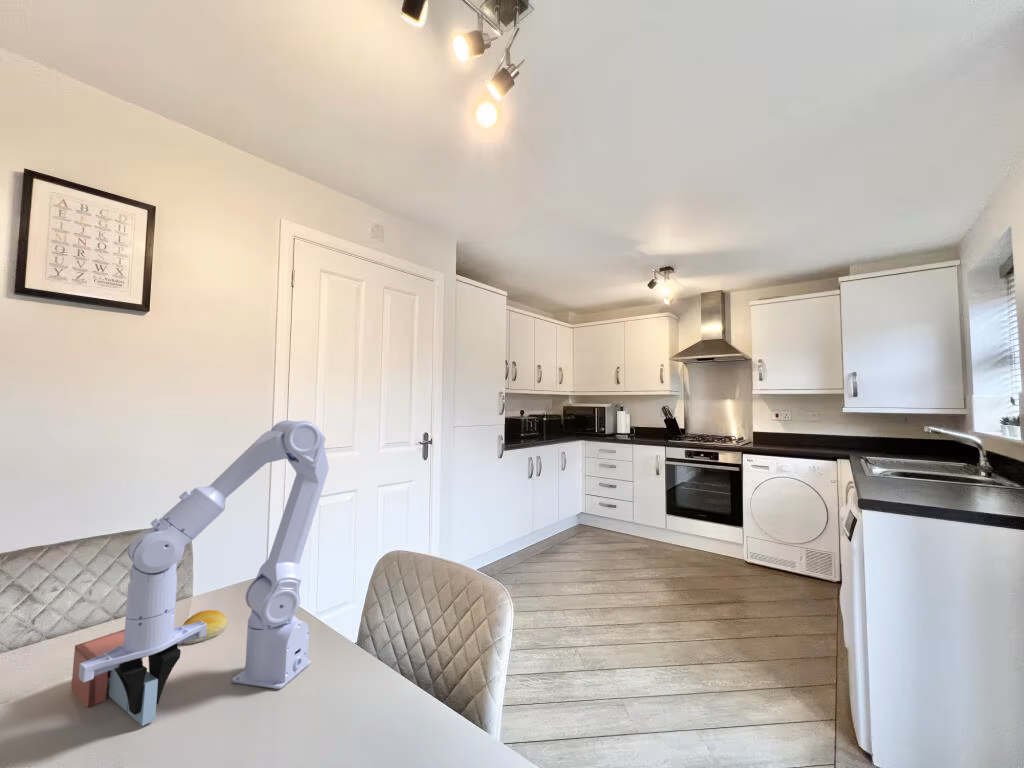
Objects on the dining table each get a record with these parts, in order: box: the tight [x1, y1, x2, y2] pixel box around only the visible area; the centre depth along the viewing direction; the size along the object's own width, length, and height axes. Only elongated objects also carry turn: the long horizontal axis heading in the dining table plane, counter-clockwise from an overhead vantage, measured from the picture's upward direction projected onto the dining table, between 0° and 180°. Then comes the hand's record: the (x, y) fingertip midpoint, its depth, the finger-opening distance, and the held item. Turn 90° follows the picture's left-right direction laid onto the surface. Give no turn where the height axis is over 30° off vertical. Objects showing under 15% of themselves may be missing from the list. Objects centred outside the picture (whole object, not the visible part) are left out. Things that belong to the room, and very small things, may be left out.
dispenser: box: [70, 628, 143, 708], centre depth 70 cm, size 8×6×7 cm
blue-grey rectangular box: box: [108, 669, 158, 727], centre depth 65 cm, size 13×2×6 cm, turn 59°
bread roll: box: [181, 609, 228, 645], centre depth 88 cm, size 8×9×4 cm
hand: (144, 706), depth 63 cm, fingers closed on blue-grey rectangular box
